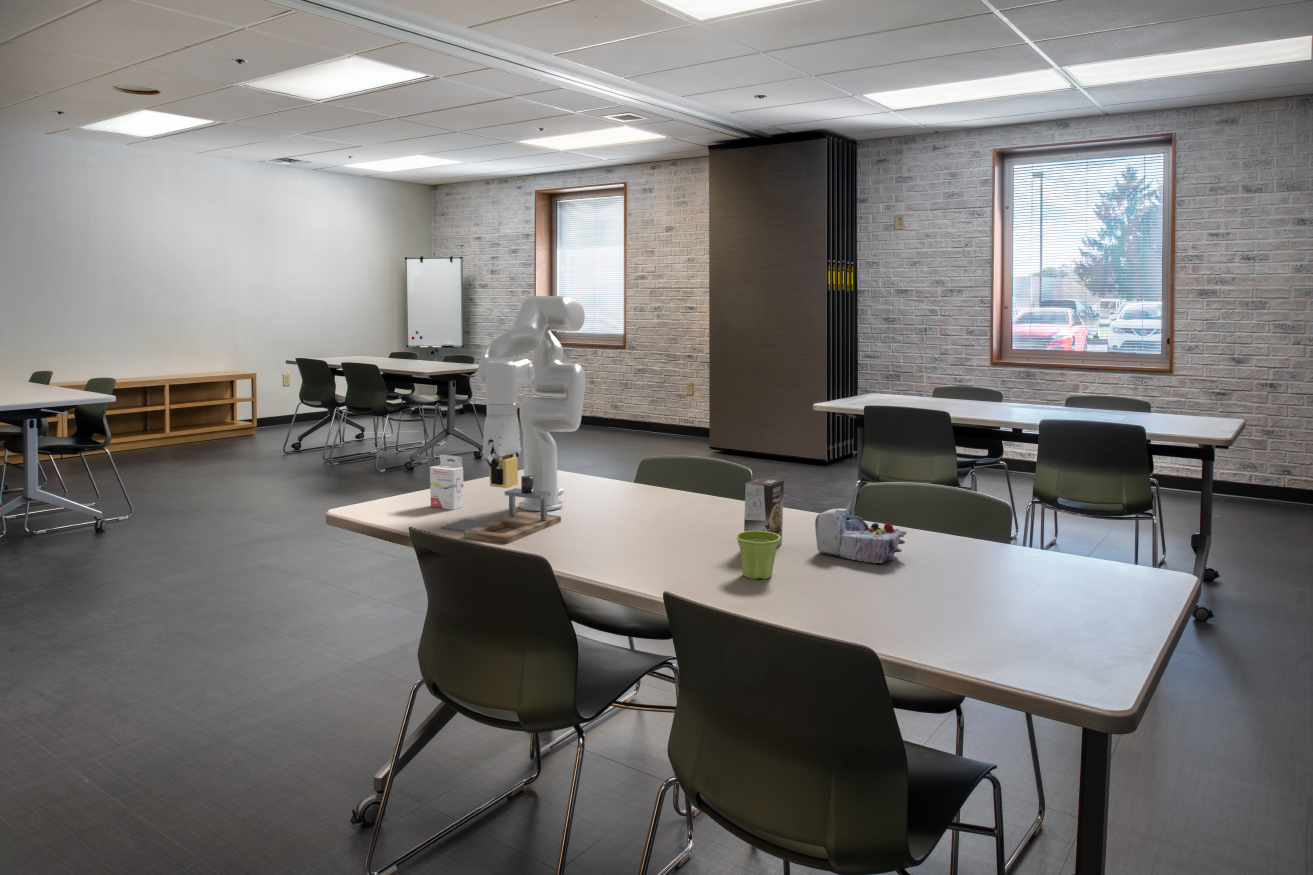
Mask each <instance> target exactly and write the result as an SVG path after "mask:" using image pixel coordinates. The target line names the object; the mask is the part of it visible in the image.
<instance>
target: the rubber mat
mask: <svg viewBox="0 0 1313 875" xmlns="http://www.w3.org/2000/svg"><path fill="white" fill-rule="evenodd" d="M489 522H490V521H486V520H478V519H472V518H471V519H469V518H463V519H460V520H457V521H453V522H451V523H448V524H445V525H442V526H440V529H443V530H451V531H458V532H464V531H467V530H470V529H472V528H475V527H478V526H481V525H483V524H486V523H489Z"/></svg>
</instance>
